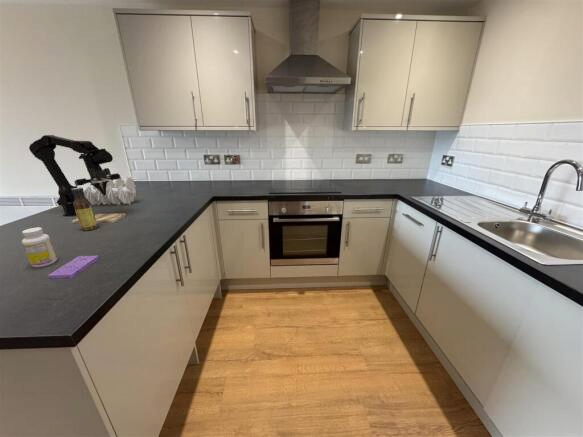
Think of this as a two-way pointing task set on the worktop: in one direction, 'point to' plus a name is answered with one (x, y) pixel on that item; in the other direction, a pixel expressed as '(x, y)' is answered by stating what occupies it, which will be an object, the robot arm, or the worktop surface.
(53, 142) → the robot arm
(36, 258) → the supplement bottle
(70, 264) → the sponges
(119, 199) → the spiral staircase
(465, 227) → the worktop surface
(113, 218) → the beech cutting board
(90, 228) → the sauce bottle
